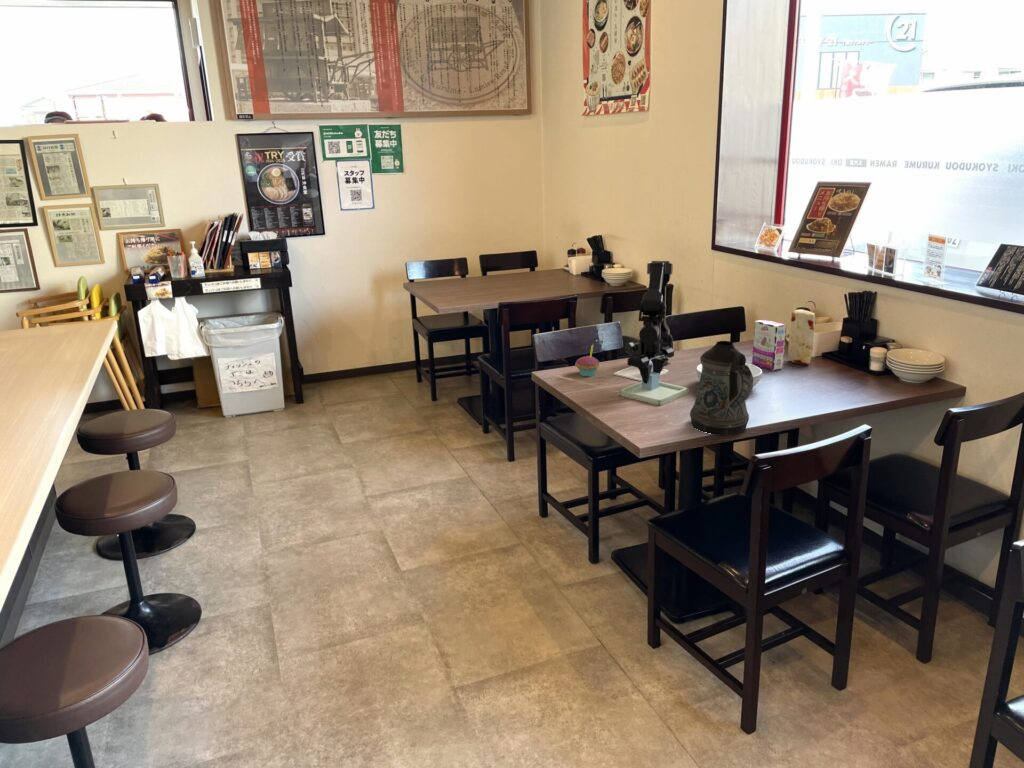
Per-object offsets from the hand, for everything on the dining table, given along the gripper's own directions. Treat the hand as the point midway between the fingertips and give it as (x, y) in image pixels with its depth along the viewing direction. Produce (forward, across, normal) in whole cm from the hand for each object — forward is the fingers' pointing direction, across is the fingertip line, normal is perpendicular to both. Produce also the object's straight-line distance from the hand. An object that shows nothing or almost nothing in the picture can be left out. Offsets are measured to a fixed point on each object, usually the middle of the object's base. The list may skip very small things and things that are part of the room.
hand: (650, 381), depth 250 cm
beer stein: (+3, +14, +36) cm, 38 cm away
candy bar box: (+3, -49, +17) cm, 52 cm away
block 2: (+2, 0, 0) cm, 2 cm away
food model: (+3, -60, +24) cm, 65 cm away
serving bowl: (+3, -18, +18) cm, 26 cm away
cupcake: (+3, +1, -26) cm, 27 cm away
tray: (+3, +3, +4) cm, 6 cm away
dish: (+3, -12, -12) cm, 18 cm away
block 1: (+2, -12, -10) cm, 15 cm away
